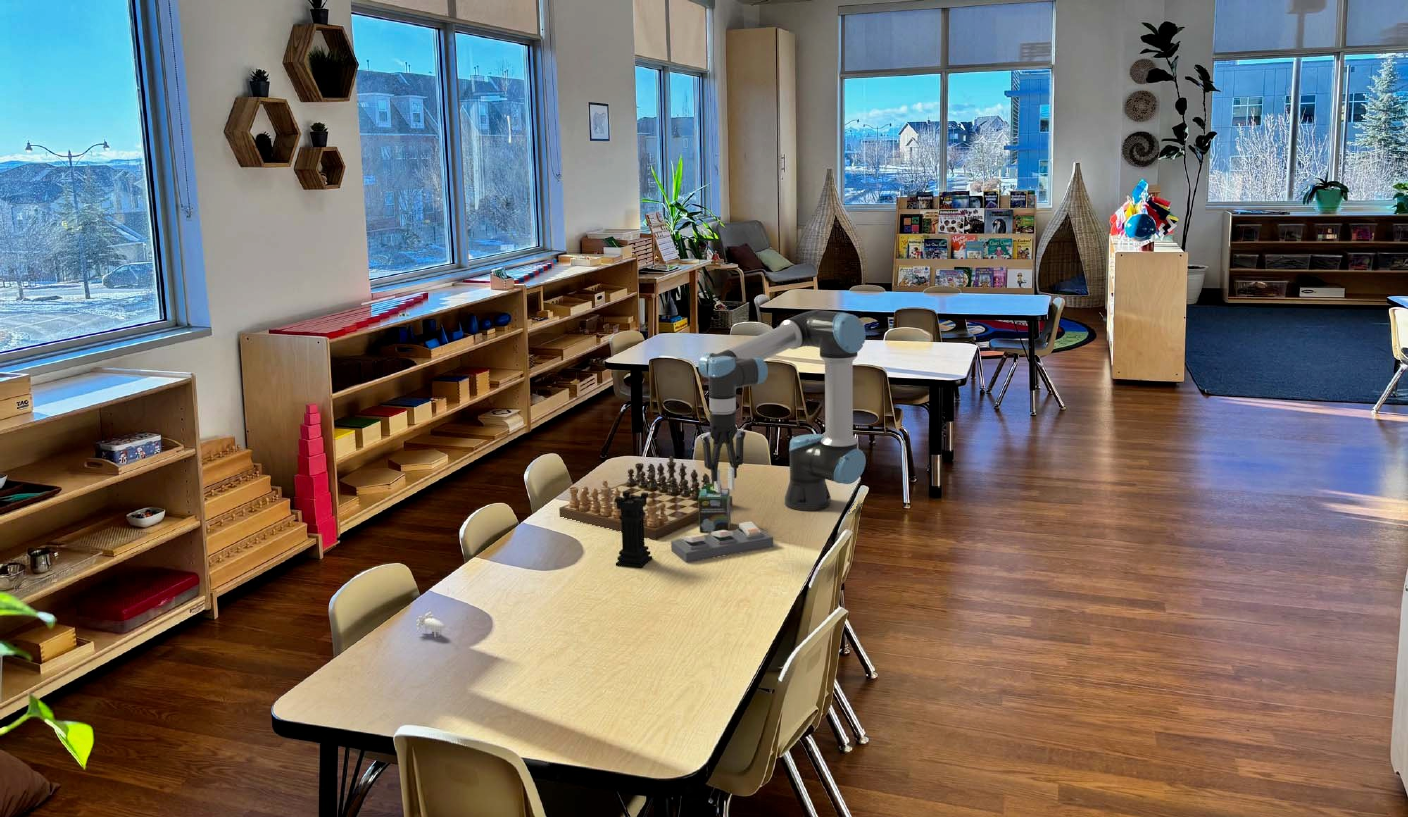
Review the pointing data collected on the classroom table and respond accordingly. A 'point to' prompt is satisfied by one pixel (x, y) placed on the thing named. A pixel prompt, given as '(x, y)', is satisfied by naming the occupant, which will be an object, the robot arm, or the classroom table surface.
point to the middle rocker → (722, 533)
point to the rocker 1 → (694, 538)
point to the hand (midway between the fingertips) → (724, 490)
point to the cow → (430, 623)
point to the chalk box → (714, 509)
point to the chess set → (664, 506)
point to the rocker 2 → (749, 528)
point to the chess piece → (632, 531)
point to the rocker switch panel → (720, 545)
